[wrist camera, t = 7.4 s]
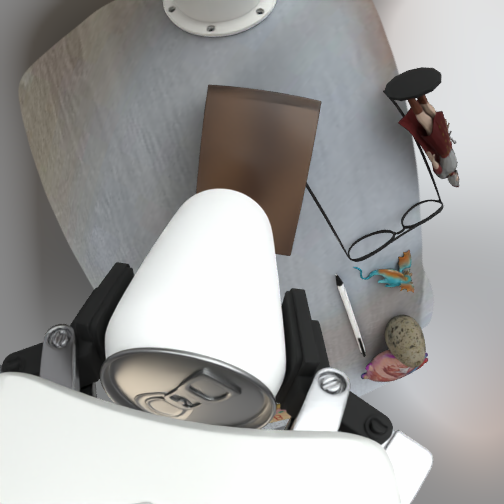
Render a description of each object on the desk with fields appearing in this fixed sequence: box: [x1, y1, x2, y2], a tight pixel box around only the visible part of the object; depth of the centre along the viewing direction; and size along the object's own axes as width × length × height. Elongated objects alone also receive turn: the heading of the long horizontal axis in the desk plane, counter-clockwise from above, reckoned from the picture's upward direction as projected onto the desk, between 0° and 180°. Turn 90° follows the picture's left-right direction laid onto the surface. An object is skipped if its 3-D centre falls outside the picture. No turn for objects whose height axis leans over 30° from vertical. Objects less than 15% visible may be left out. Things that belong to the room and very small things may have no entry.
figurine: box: [384, 68, 459, 187], centre depth 23 cm, size 7×7×15 cm
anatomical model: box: [361, 350, 428, 382], centre depth 41 cm, size 11×6×15 cm
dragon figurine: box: [353, 251, 414, 293], centre depth 34 cm, size 7×7×8 cm
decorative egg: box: [385, 315, 426, 368], centre depth 35 cm, size 6×6×10 cm
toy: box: [269, 404, 291, 423], centre depth 51 cm, size 12×2×5 cm
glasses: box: [306, 91, 443, 262], centre depth 27 cm, size 14×15×5 cm
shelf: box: [196, 85, 321, 256], centre depth 25 cm, size 9×14×8 cm, turn 172°
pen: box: [336, 274, 366, 357], centre depth 39 cm, size 1×19×1 cm, turn 27°
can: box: [100, 189, 286, 429], centre depth 12 cm, size 6×6×12 cm
